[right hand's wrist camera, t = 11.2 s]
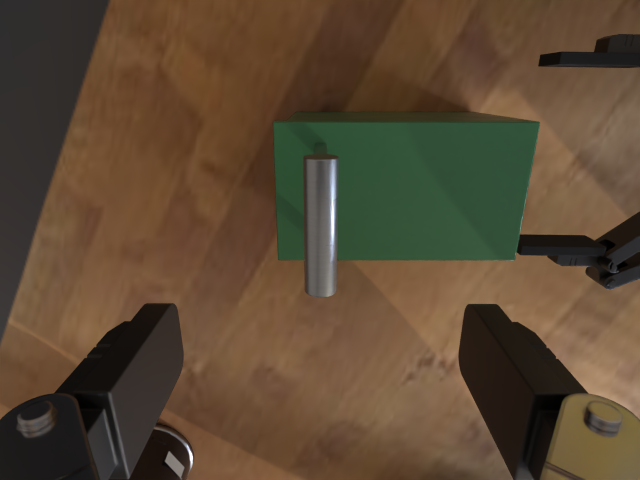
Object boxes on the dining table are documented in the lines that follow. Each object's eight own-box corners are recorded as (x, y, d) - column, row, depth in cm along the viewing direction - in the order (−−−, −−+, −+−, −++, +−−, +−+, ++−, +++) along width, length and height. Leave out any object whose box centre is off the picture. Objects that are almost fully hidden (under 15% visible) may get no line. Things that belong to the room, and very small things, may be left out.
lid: (279, 253, 29) (264, 316, 21) (274, 120, 26) (254, 134, 18) (507, 253, 29) (578, 316, 21) (530, 120, 26) (624, 134, 18)
